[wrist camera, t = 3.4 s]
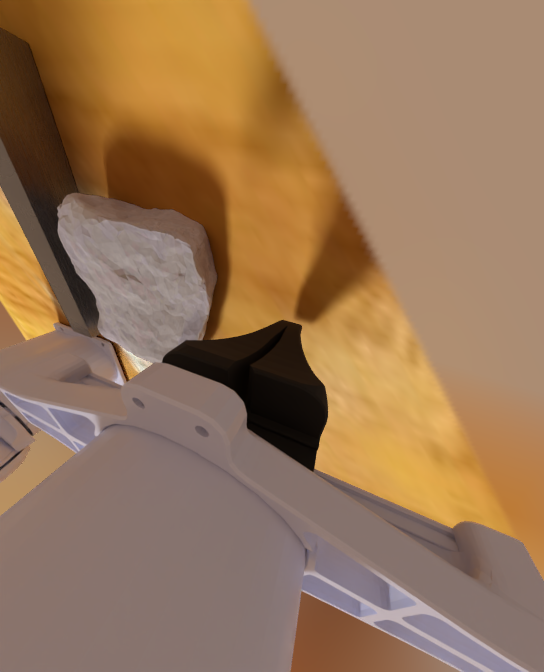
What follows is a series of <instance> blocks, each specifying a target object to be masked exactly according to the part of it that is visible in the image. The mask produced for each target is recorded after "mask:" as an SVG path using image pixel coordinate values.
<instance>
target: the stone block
mask: <svg viewBox="0 0 544 672" xmlns="http://www.w3.org/2000/svg"><path fill="white" fill-rule="evenodd" d="M57 209H58V214H57V215H58V217H59V220H58V235H59V238H60V240H61V242H62V244H63V247H64V248H65V250H66V252H67V254H68V255H69V257H70V259H71V262H72V264H73V265H74V268H75V271H76V273H77V274H78V275H79V276H80V278H81V279H82V280H83V281H84V282H85V283H86V284H87V285H88V287H89V288H90V289H91V291H92V292H93V294H94V295H95V298H96V306H97V308H98V311H99V320H98V326H97V327H98V330H99V332H100V333H101V335H103V336H104V337H105V338H107V339H109V340H111V341H113V342H116V343H117V344H119V345H120V346H122V347H123V348H124V349H125V350H127V351H129V352H131V353H133V354H134V355H135V356H137V357H140V358H142V359H144V360H146V361H149V362H151V363H155V362H158V363H162V360H163V357H164V356H165V355H166V354H167V353H168V352H169V351H171V350H172V349H174V348H175V347H177V346H178V345H180V344H181V343H183V342H184V341H185V340H203V337H204V335H205V331H206V328H207V327H206V324H207V321H208V319H209V311H210V308H211V306H212V305H211V304H212V299H213V292H214V288H215V285H216V283H217V273H216V270H215V266H214V261H213V256H212V252H211V249H210V244H209V240H208V237H207V234H206V231H205V229H204V227H203V226H202V225H201V224H199V223H198V222H196V221H194V220H191V219H189V218H188V217H186V216H184V215H183V214H181V213H180V212H177V211H175V210H173V209H171V210H167V209H166V210H161V209H157V208H154V209H144V208H141V207H139V206H136V205H134V204H130V203H127V202H124V201H120V200H116V199H112V198H105V197H101V196H96V195H85V194H81V193H72V194H69V195H67V196H66V197H65V198H64V199H63V203H62V204H60V205H59V206H58V207H57Z"/></svg>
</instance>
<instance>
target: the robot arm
mask: <svg viewBox="0 0 544 672" xmlns="http://www.w3.org/2000/svg"><path fill="white" fill-rule="evenodd" d="M53 325H54V327H55V329H56V330H55V331H53V332H50V333H47V334H44V335H41V336H38V337H36V338H33V339H30V340H27V341H24V342H21V343H19V344H16V345H13V346H10V347H7V348H4V349H2V350H0V482H2V481H3V480H4V479H6V478H7V477H8V476H9V475H10V474H11V473H13V472H14V471H15V470H16V469H17V468H18V467H19V466H20V465H21V464H22V462H23V461H24V460H25V458H26V455H27V454H28V452H29V450H30V446H29V444H31V443H33V442H34V441H35V439H34V438H33V437H32V436H33V435H35V434H36V433H38V432H39V431H41V430H43V431H44V432H46V433H47V434H49V435H51V436H52V437H54V438H55V439H57V440H58V441H60V442H61V443H63V444H64V445H66V446H67V447H69V448H70V449H72V450H73V451H74V452H76V454H75V455H74V456H72V457H71V458H70V459H69V460H68V461H67V462H65V463H64V464H63V465H62V466H60V467H59V468H58V469H57V470H56V471H54V472H53V473H52V474H51V475H50V476H48V477H47V478H46V479H45V480H43V481H42V482H41V483H40V484H39V485H37V486H36V487H35V488H34V489H33V490H31V491H30V492H29V493H28V494H26V495H25V496H24V497H23V498H22V499H20V500H19V501H18V502H17V503H16V504H14V505H13V506H12V507H11V508H10V509H8V510H7V511H6V512H5V513H4V514H2V515H1V516H0V672H290V671H291V663H292V656H293V649H294V641H295V634H296V627H297V619H298V612H299V604H300V596H301V591H303V592H305V593H307V594H309V595H311V596H313V597H315V598H317V599H320V600H321V601H323V602H326V603H327V604H329V605H331V606H333V607H336V608H337V609H339V610H342V611H343V612H345V613H347V614H350V615H352V616H353V617H356V618H358V619H359V620H361V621H364V622H366V623H368V624H370V625H372V626H374V627H376V628H378V629H380V630H382V631H384V632H386V633H388V634H390V635H392V636H394V637H396V638H398V639H400V640H402V641H404V642H406V643H408V644H410V645H412V646H414V647H415V648H417V649H419V650H421V651H423V652H425V653H427V654H429V655H431V656H433V657H435V658H437V659H439V660H440V661H442V662H444V663H446V664H448V665H450V666H452V667H453V668H456V669H457V670H459V671H461V672H544V581H543V579H542V577H541V575H540V573H539V572H538V570H537V568H536V566H535V564H534V562H533V561H532V559H531V557H530V555H529V553H528V551H527V549H526V548H525V546H524V544H523V543H522V542H520V541H519V540H517V539H515V538H513V537H510V536H508V535H505V534H503V533H501V532H498V531H496V530H493V529H491V528H489V527H486V526H484V525H481V524H478V523H475V522H469V521H464V522H460V523H458V524H457V525H456V526H454V527H453V528H450V527H448V526H445V525H443V524H441V523H438V522H436V521H434V520H431V519H429V518H427V517H424V516H422V515H420V514H418V513H415V512H413V511H411V510H408V509H406V508H404V507H401V506H399V505H397V504H394V503H392V502H390V501H387V500H385V499H383V498H381V497H378V496H376V495H374V494H371V493H369V492H367V491H364V490H362V489H360V488H357V487H355V486H353V485H351V484H348V483H346V482H344V481H341V480H339V479H337V478H334V477H332V476H330V475H327V474H325V473H323V472H320V471H318V470H316V469H314V466H315V459H316V453H317V450H318V447H319V441H320V437H321V434H322V432H323V430H324V427H325V425H326V422H327V418H328V402H327V395H326V390H325V386H324V385H323V383H322V382H321V381H320V380H319V379H318V378H317V377H316V376H315V374H314V373H313V371H312V370H311V368H310V366H309V364H308V362H307V360H306V358H305V355H304V352H303V349H302V344H301V336H300V334H301V330H302V326H301V325H300V324H296V323H292V322H288V321H285V320H281V321H278V322H276V323H274V324H272V325H270V326H268V327H265V328H263V329H260V330H258V331H255V332H253V333H249V334H246V335H242V336H238V337H232V338H226V339H218V340H185V341H184V342H183V343H181V344H180V345H178V346H177V347H175V348H174V349H172V350H171V351H169V352H168V353H167V354H166V355H165V356H164V357H163V360H162V363H158V362H155V363H153V364H152V365H151V366H149V367H148V368H146V369H145V370H143V371H142V372H140V373H139V374H138V375H136V376H135V377H133V378H132V379H130V380H129V381H128V382H127V381H126V378H125V376H124V373H123V371H122V368H121V366H120V363H119V361H118V358H117V356H116V353H115V351H114V348H113V346H112V344H111V343H110V342H109V341H107V340H104V339H101V338H98V337H96V336H95V337H93V338H90V337H87V336H85V335H82V334H79V333H77V332H74V331H73V329H72V328H71V327H69V326H66V325H63V324H61V323H58V322H57V323H54V324H53Z"/></svg>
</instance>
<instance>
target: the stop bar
mask: <svg viewBox="0 0 544 672" xmlns="http://www.w3.org/2000/svg"><path fill="white" fill-rule="evenodd" d="M0 186H1V188H2V190H3V192H4V194H5V196H6V198H7V200H8V202H9V204H10V206H11V208H12V210H13V212H14V214H15V216H16V218H17V220H18V222H19V224H20V226H21V228H22V230H23V232H24V234H25V236H26V238H27V240H28V242H29V244H30V246H31V248H32V250H33V252H34V254H35V256H36V258H37V260H38V262H39V264H40V266H41V268H42V270H43V272H44V274H45V276H46V278H47V280H48V282H49V284H50V286H51V288H52V290H53V292H54V294H55V296H56V298H57V300H58V302H59V304H60V306H61V308H62V310H63V312H64V314H65V316H66V318H67V320H68V321H69V323H70V325H71V327H72V329H73V331H74V332H77V333H79V334H82V335H85V336H87V337H90V338H93V337H95V336H97V335H100V334H101V333H100V332H99V330H98V327H97V326H98V320H99V311H98V308H97V306H96V298H95V295H94V294H93V292H92V291H91V289H90V288H89V287H88V285H87V284H86V283H85V282H84V281H83V280H82V279H81V278H80V276H79V275H78V274H77V273H76V271H75V268H74V265H73V264H72V262H71V259H70V257H69V255H68V254H67V252H66V250H65V248H64V247H63V244H62V242H61V240H60V238H59V235H58V220H59V217H58V215H57V214H58V209H57V207H58V206H59V205H60V204H62V203H63V199H64V198H65V197H66V196H67V195H69V194H72V193H78V190H77V187H76V184H75V181H74V178H73V175H72V172H71V169H70V166H69V163H68V160H67V157H66V154H65V151H64V148H63V145H62V142H61V139H60V136H59V134H58V131H57V128H56V125H55V122H54V119H53V116H52V113H51V110H50V107H49V104H48V101H47V98H46V95H45V92H44V89H43V86H42V83H41V80H40V77H39V74H38V71H37V68H36V65H35V62H34V59H33V56H32V54H31V51H30V48H29V45H28V43H27V42H25V41H23V40H22V39H20V38H18V37H16V36H14V35H13V34H11V33H9V32H7V31H6V30H4V29H2V28H0Z"/></svg>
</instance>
